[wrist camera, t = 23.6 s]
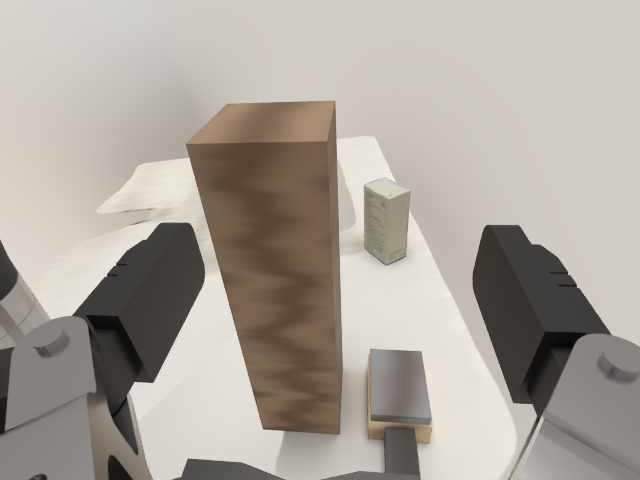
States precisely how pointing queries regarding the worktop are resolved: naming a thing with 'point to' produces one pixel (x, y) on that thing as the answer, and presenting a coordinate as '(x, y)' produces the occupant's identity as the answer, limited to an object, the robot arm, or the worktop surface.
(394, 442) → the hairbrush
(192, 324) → the worktop surface
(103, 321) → the robot arm
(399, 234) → the skincare box
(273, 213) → the walnut stand
